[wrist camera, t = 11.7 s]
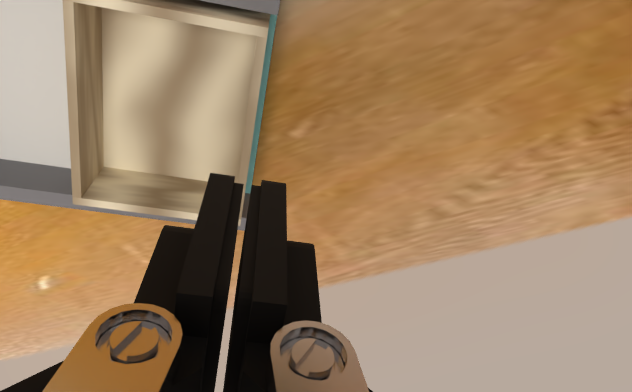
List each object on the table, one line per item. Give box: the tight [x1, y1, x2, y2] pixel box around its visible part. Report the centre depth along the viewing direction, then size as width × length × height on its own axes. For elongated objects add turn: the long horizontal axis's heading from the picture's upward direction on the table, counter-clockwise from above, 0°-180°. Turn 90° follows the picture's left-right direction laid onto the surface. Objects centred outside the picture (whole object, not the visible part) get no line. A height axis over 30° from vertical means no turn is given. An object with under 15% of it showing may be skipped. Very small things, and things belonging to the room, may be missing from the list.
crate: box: [63, 0, 270, 226], centre depth 35 cm, size 12×15×6 cm
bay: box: [0, 0, 280, 231], centre depth 36 cm, size 23×18×5 cm
